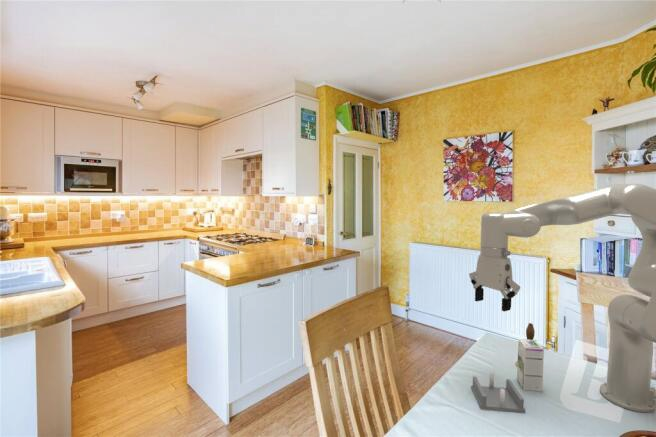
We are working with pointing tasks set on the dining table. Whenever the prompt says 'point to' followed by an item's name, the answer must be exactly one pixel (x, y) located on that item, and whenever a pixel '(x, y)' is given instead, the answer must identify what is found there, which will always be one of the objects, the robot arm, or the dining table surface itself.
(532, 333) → the hand bell
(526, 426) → the dining table surface
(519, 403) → the grey peg stand
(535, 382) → the syrup box
